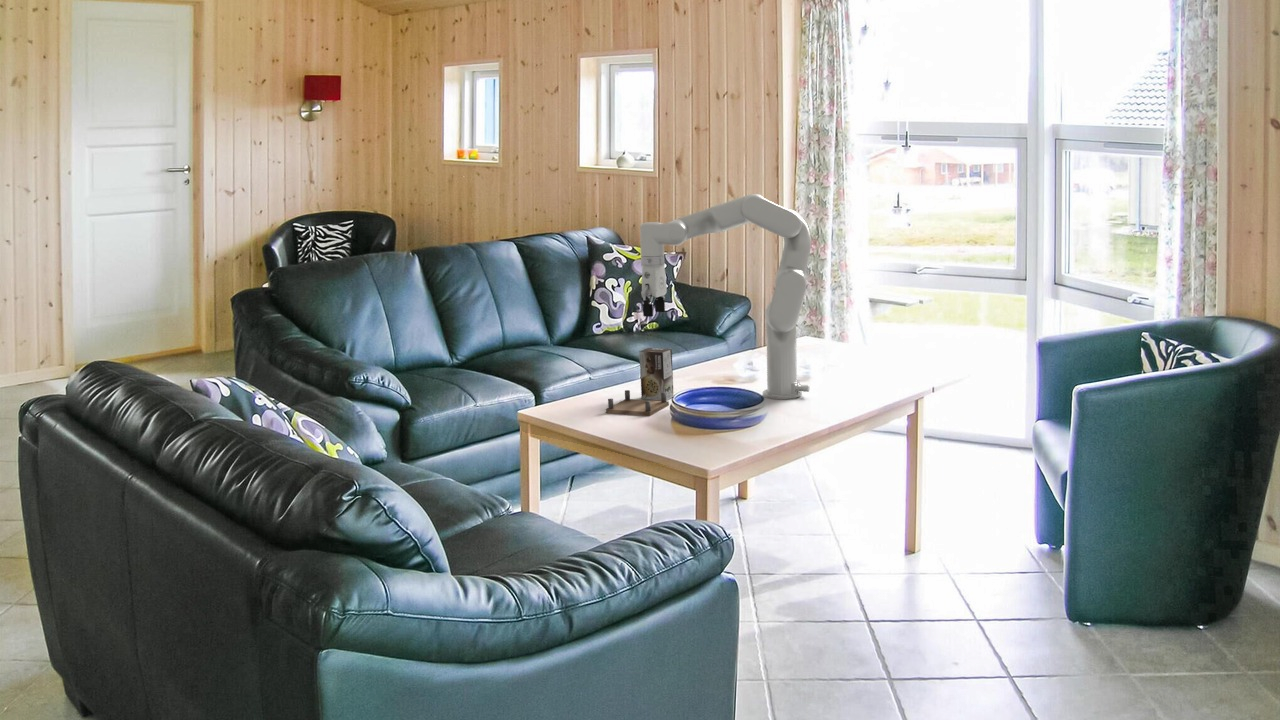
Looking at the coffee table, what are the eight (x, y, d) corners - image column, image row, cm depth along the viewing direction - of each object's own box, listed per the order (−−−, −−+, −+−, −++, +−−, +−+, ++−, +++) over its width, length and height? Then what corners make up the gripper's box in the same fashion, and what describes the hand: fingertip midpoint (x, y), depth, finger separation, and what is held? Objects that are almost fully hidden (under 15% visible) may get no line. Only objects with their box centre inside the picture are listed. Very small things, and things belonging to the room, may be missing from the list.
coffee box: (674, 397, 394) (672, 348, 391) (664, 401, 388) (663, 352, 385) (650, 395, 398) (648, 347, 395) (640, 399, 393) (638, 350, 390)
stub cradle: (668, 405, 383) (668, 392, 382) (650, 415, 369) (649, 402, 368) (625, 402, 389) (625, 389, 388) (606, 412, 375) (605, 399, 374)
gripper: (653, 264, 376) (654, 318, 379) (673, 258, 391) (675, 310, 394) (631, 264, 379) (632, 317, 382) (652, 258, 394) (653, 309, 397)
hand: (654, 314), depth 388 cm, fingers open, 9 cm apart
